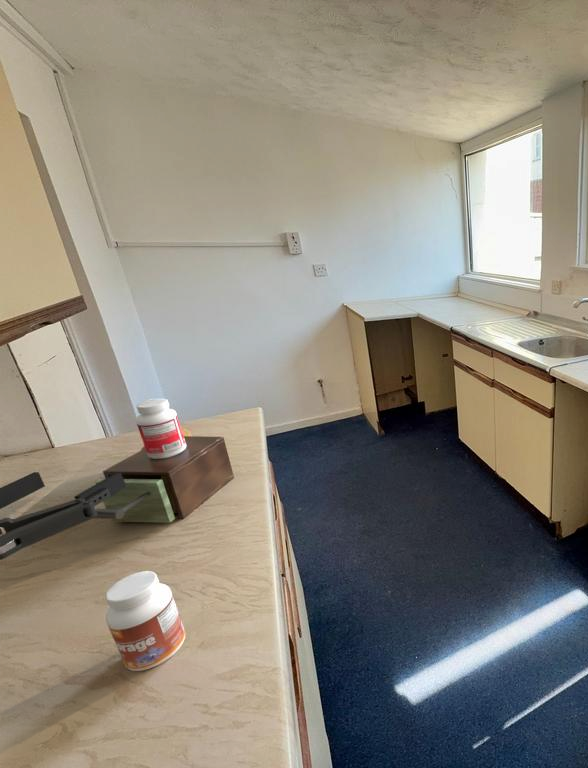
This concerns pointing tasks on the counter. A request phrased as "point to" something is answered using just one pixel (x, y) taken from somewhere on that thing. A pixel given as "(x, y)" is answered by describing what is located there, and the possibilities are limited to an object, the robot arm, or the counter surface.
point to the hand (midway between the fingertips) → (80, 479)
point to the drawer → (140, 501)
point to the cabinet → (185, 471)
